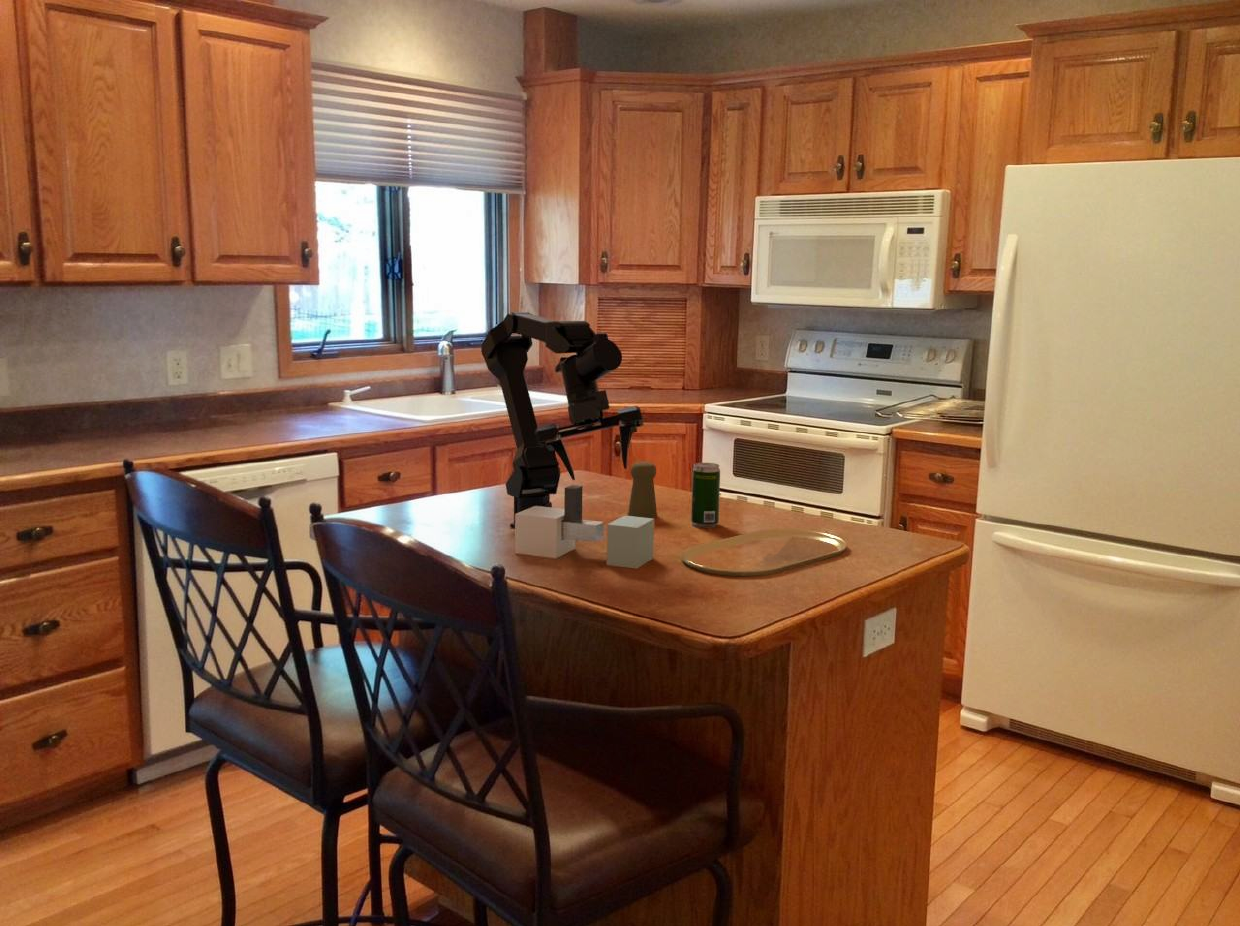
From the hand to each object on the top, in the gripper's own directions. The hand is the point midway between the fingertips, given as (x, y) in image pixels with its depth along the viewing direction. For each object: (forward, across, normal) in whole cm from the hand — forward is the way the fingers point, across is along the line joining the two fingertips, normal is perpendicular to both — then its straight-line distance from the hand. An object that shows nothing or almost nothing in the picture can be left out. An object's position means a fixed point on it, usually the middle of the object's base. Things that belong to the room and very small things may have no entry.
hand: (599, 474), depth 188 cm
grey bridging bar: (+9, -9, +3) cm, 13 cm away
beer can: (+10, +17, +27) cm, 34 cm away
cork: (+5, +5, +34) cm, 34 cm away
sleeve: (+11, -12, +5) cm, 17 cm away
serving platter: (+20, +25, +7) cm, 33 cm away
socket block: (+16, +2, 0) cm, 16 cm away
